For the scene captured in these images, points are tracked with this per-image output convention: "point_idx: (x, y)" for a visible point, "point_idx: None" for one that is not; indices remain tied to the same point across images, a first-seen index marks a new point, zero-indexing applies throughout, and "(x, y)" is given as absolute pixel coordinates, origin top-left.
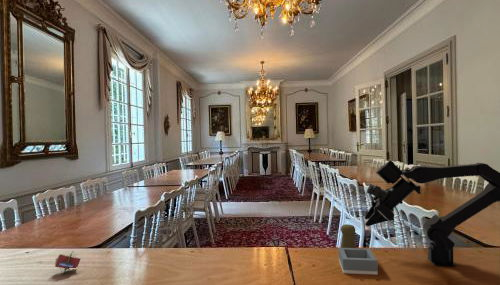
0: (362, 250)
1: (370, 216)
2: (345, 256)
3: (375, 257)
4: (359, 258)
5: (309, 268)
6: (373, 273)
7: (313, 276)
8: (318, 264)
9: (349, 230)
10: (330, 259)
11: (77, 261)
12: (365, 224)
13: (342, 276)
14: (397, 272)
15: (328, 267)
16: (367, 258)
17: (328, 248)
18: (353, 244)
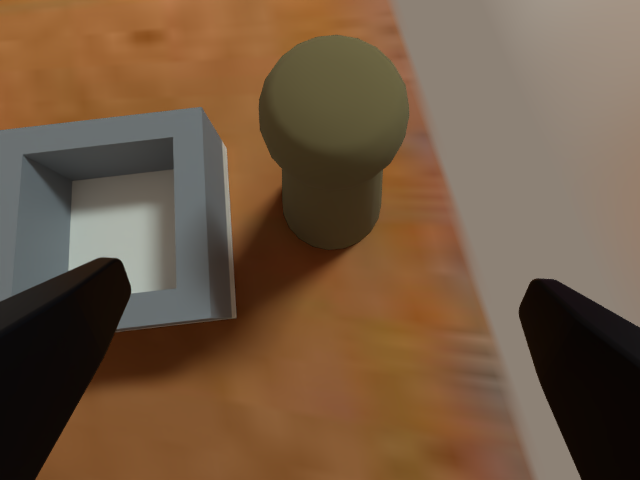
0: (178, 261)
1: (566, 402)
2: (42, 145)
3: None
4: (9, 228)
5: (106, 23)
6: None
7: (21, 46)
8: (158, 56)
9: (260, 120)
10: (232, 107)
11: None
12: (102, 261)
13: None
14: (89, 462)
15: (125, 101)
16: (8, 280)
17: None
18: (296, 206)
